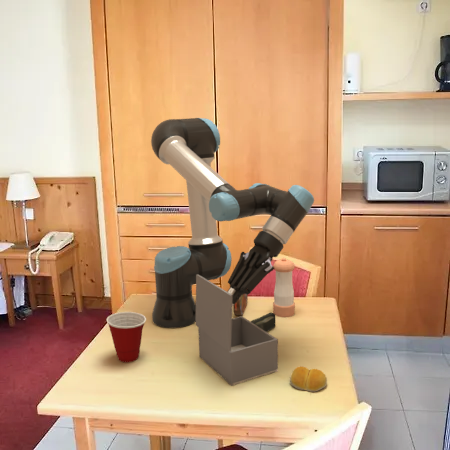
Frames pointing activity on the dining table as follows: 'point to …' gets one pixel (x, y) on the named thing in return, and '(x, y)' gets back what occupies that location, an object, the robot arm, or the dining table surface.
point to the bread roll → (308, 379)
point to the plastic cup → (126, 334)
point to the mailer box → (241, 352)
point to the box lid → (214, 311)
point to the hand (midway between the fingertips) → (221, 311)
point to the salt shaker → (284, 289)
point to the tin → (240, 305)
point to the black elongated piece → (265, 322)
